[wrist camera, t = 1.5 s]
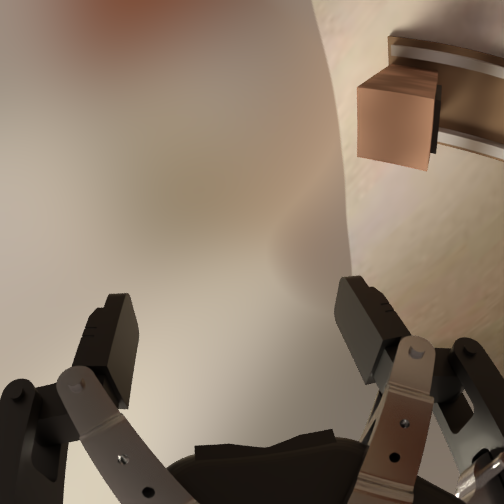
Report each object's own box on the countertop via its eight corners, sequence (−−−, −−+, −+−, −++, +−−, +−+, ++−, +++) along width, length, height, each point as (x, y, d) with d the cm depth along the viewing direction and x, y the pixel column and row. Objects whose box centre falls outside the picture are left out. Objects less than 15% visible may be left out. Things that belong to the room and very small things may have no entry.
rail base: (571, 84, 14) (639, 132, 5) (554, 176, 20) (592, 266, 12) (389, 36, 23) (350, 41, 14) (389, 130, 29) (352, 193, 21)
